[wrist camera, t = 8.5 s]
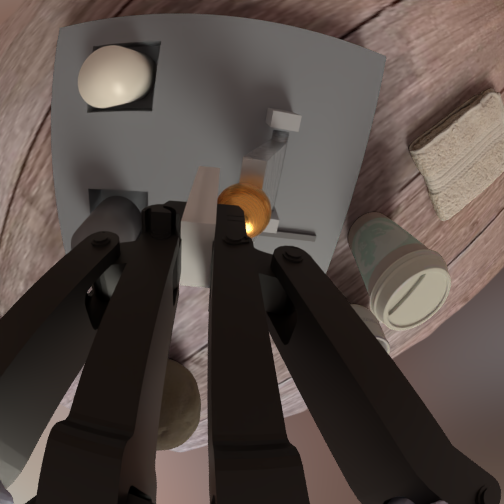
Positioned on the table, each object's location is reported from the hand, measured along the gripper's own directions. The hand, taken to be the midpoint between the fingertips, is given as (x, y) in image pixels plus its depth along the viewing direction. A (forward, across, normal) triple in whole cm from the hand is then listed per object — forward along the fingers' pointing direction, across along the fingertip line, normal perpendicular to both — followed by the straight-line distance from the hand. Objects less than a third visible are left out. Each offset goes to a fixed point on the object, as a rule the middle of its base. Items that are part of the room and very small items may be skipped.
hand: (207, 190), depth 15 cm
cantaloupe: (+12, -7, -35) cm, 38 cm away
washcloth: (+12, +30, +7) cm, 33 cm away
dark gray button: (+8, -8, -7) cm, 13 cm away
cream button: (+11, -8, +6) cm, 15 cm away
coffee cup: (+12, +19, -7) cm, 23 cm away
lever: (+6, +5, 0) cm, 7 cm away
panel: (+12, -1, 0) cm, 12 cm away
